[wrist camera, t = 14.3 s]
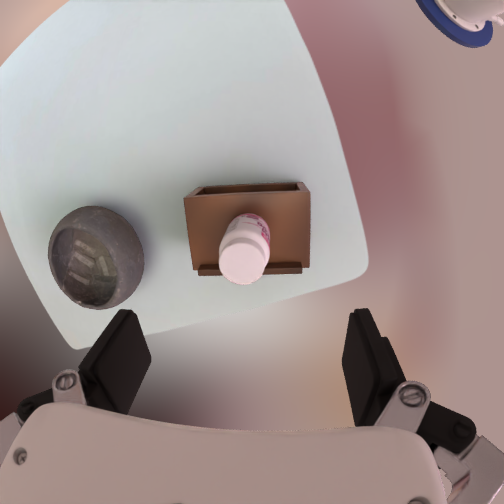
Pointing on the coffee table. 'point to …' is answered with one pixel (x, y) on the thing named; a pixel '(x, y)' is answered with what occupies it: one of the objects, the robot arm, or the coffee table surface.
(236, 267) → the pill bottle
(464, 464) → the robot arm
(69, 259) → the bowl
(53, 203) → the coffee table surface
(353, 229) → the coffee table surface
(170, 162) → the coffee table surface
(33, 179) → the coffee table surface
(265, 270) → the shelf
